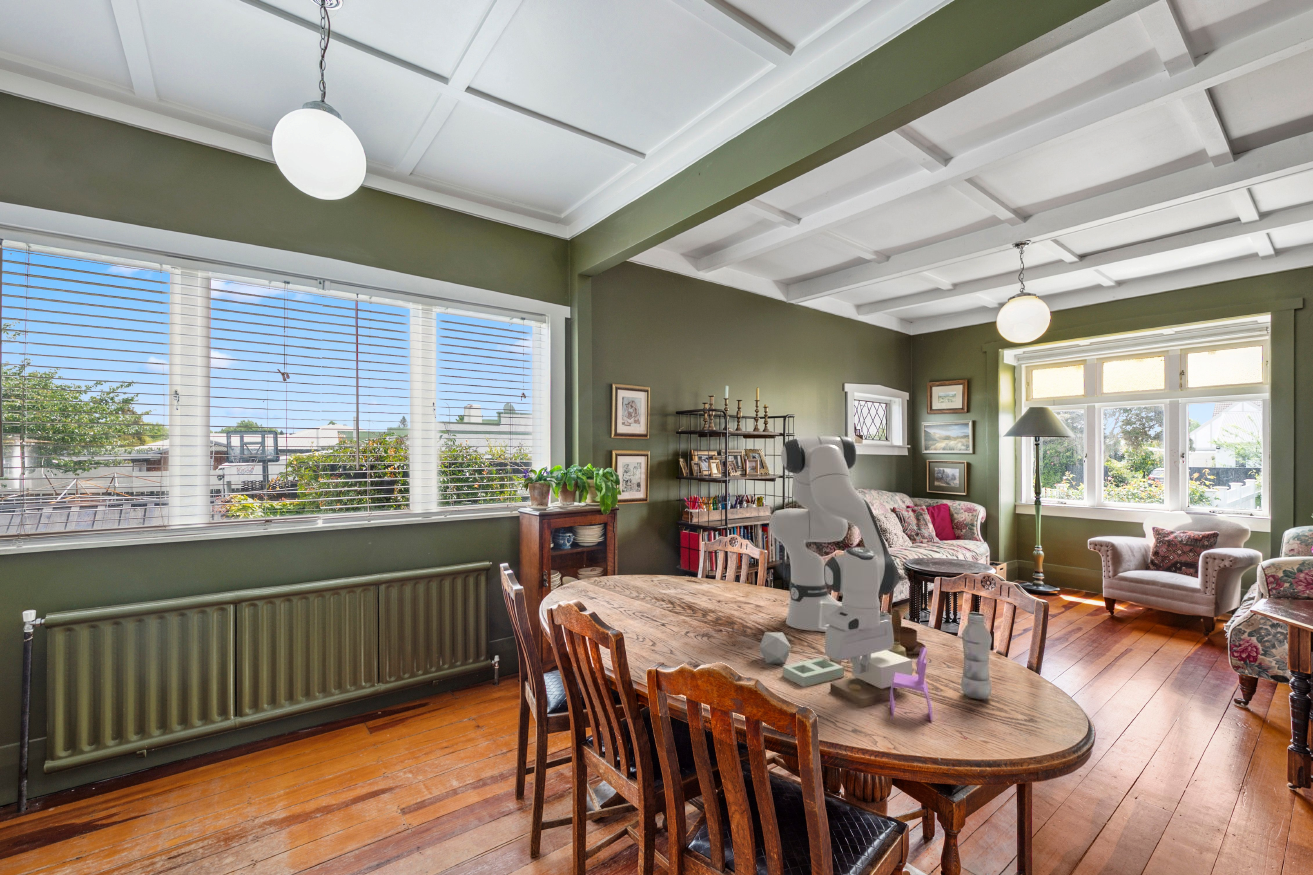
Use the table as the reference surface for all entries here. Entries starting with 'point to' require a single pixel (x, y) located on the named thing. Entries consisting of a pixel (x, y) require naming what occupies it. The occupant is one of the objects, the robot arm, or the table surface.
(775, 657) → the die
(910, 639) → the cup and saucer
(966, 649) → the plastic bottle
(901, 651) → the hand bell
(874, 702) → the pattern board
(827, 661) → the socket board
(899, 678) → the toy chair
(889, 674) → the white block
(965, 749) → the table surface
